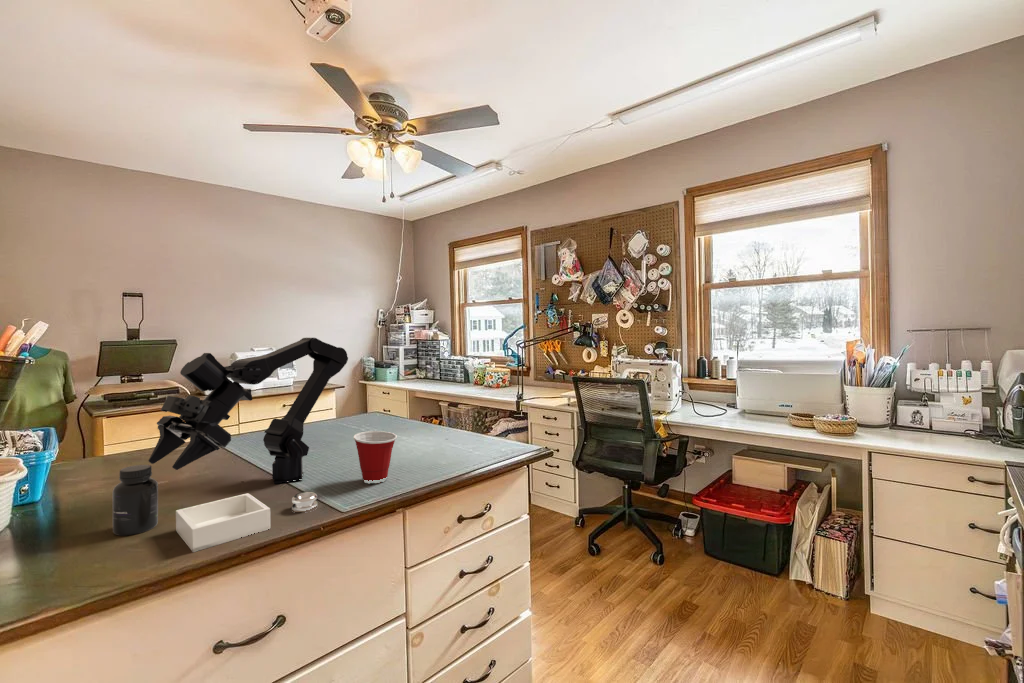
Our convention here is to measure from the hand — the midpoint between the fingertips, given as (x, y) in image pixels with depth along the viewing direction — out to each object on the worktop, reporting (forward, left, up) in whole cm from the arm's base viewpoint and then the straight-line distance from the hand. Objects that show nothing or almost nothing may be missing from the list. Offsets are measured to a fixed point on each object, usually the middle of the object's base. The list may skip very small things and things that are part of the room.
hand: (162, 465), depth 91 cm
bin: (-13, +10, -11) cm, 20 cm away
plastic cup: (-43, -9, -11) cm, 45 cm away
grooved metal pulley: (-27, +4, -11) cm, 29 cm away
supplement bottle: (+3, +3, -11) cm, 12 cm away
